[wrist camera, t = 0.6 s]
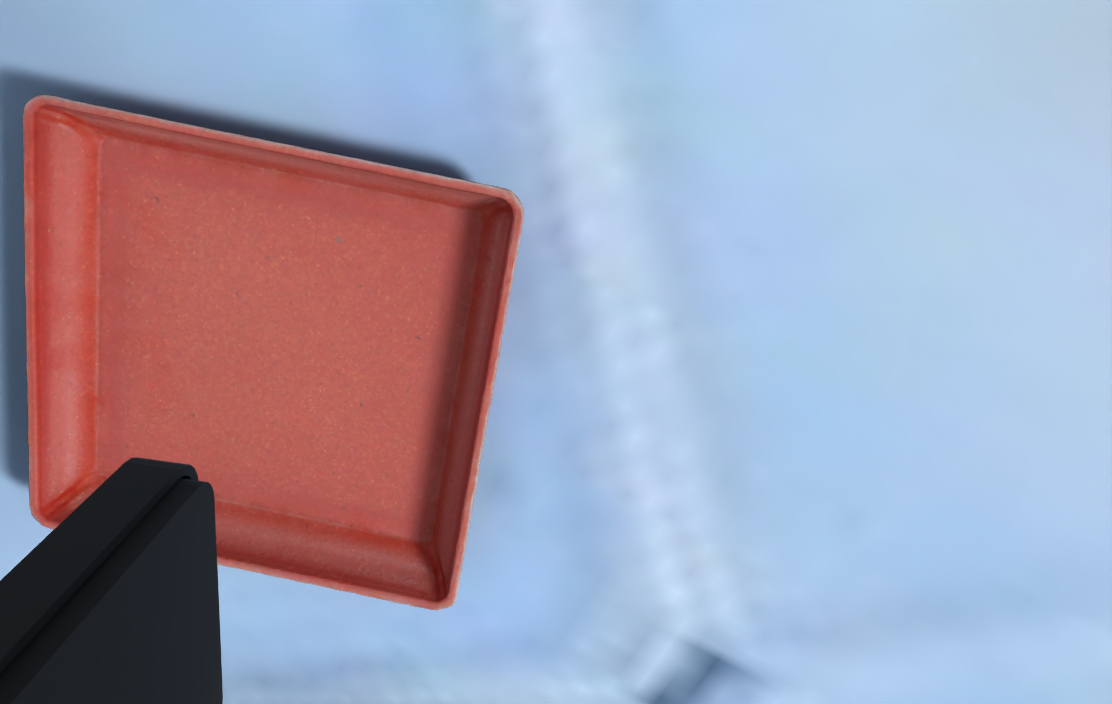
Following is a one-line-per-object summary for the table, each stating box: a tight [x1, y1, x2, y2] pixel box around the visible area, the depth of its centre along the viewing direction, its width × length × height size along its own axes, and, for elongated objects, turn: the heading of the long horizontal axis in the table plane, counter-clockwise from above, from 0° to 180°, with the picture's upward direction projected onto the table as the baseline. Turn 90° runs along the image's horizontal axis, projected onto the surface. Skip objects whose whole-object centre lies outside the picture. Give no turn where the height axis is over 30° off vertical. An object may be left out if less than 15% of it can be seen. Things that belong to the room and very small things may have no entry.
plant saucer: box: [23, 95, 524, 610], centre depth 40 cm, size 18×18×3 cm
